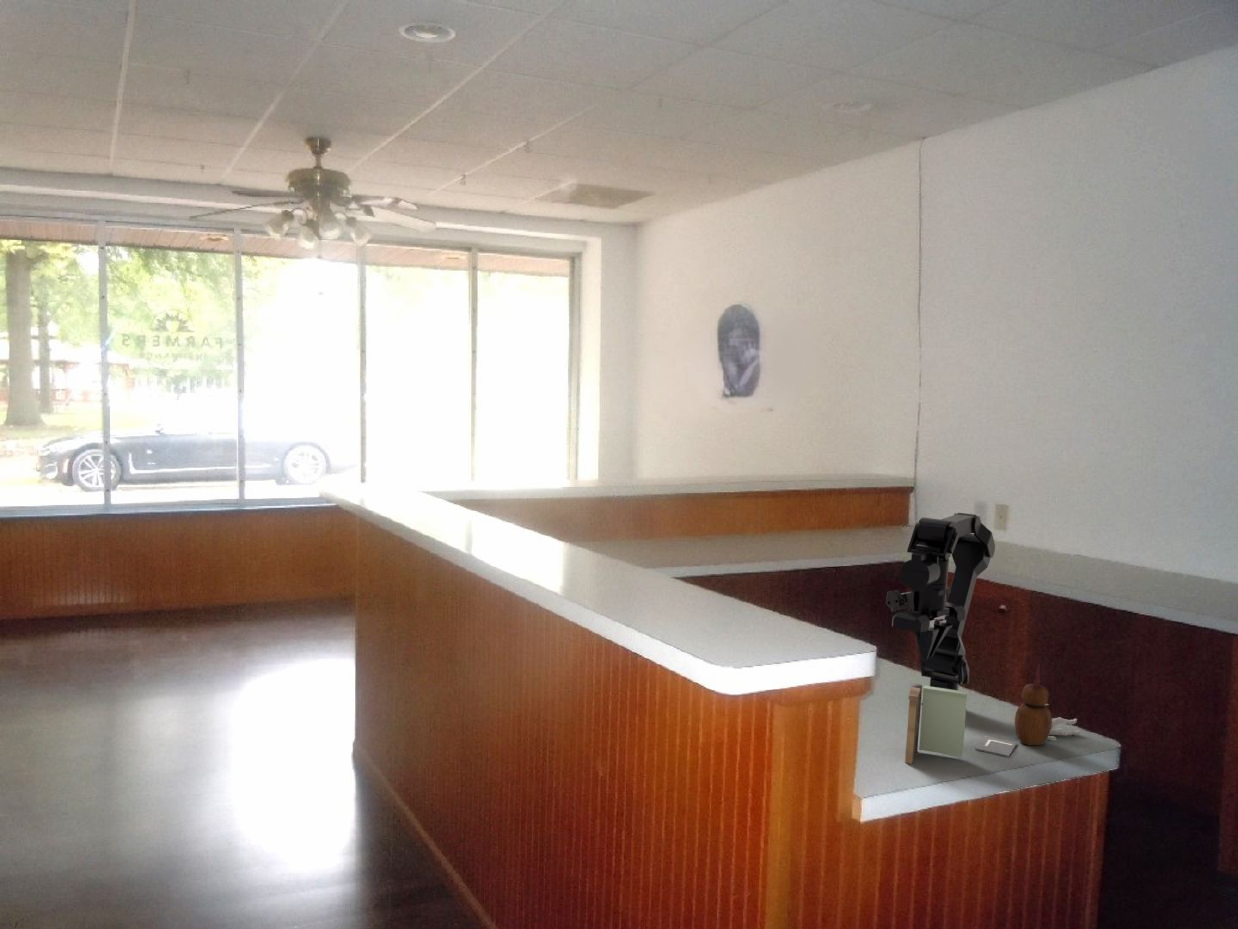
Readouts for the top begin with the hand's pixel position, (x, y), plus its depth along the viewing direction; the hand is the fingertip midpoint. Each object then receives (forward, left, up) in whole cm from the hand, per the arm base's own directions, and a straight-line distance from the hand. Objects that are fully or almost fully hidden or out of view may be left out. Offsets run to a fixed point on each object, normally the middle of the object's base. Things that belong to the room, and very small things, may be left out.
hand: (926, 658), depth 200 cm
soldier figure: (-14, +19, -13) cm, 27 cm away
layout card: (+1, +16, -13) cm, 21 cm away
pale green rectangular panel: (+14, +12, -12) cm, 22 cm away
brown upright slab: (+18, +8, -13) cm, 24 cm away
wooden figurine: (-7, +19, -13) cm, 24 cm away
